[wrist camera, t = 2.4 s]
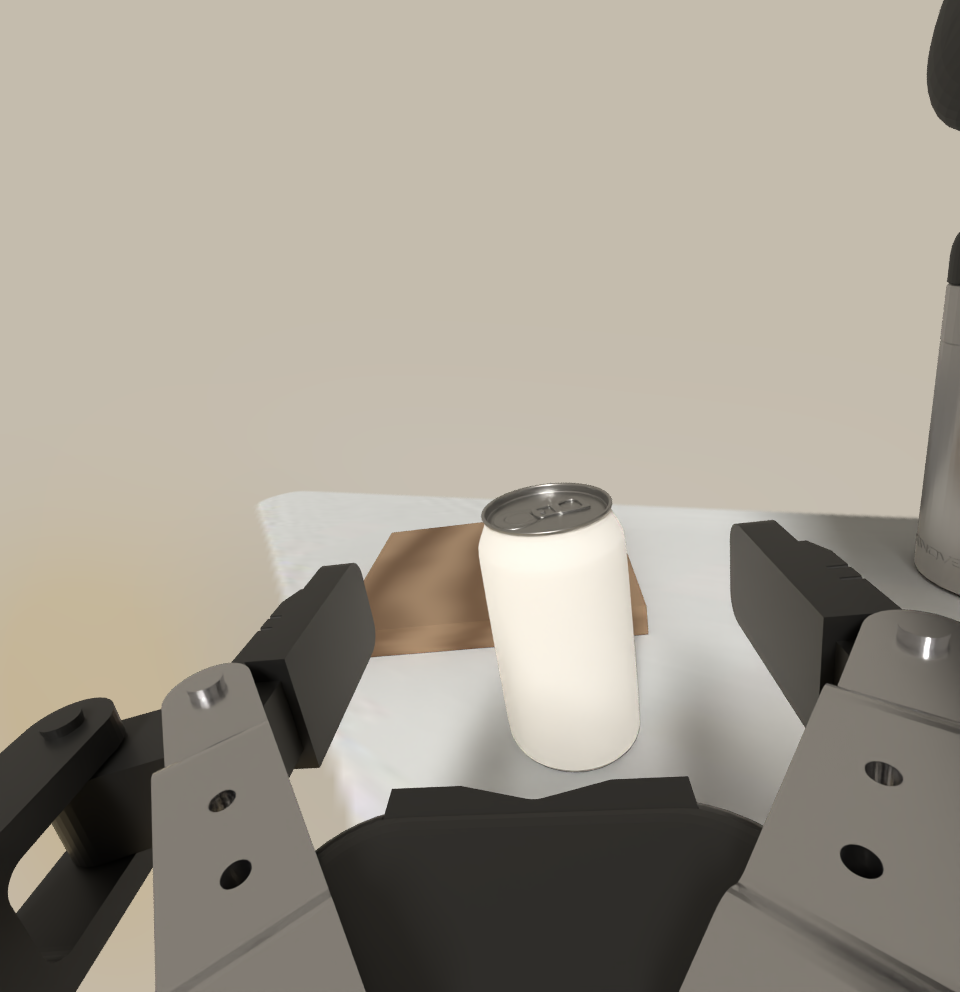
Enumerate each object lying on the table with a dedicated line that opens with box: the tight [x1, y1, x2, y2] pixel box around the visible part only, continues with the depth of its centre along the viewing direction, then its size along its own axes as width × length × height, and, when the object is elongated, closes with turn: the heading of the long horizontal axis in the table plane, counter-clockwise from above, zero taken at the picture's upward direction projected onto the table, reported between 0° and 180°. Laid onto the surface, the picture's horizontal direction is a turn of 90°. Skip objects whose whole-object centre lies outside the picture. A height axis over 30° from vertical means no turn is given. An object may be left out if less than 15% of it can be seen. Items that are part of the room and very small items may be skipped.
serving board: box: [364, 522, 648, 657], centre depth 42 cm, size 20×16×2 cm
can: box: [478, 483, 640, 772], centre depth 25 cm, size 6×6×12 cm
